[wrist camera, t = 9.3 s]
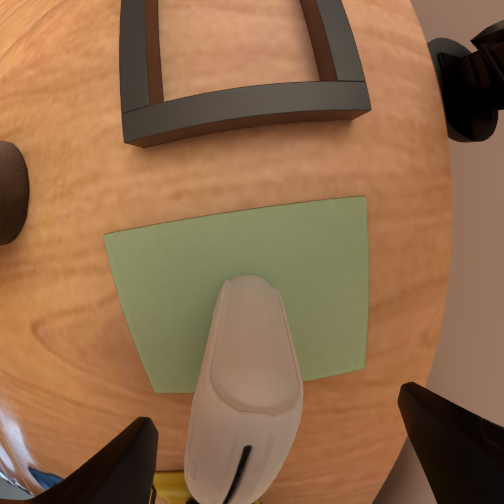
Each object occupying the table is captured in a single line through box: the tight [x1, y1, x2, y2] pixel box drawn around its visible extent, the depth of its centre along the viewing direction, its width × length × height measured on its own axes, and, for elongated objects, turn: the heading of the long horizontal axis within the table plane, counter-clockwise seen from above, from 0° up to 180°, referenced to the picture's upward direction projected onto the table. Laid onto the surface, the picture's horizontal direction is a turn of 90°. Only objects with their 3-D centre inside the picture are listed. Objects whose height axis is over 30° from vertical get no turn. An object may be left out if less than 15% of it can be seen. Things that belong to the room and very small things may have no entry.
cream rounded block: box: [184, 275, 304, 504], centre depth 14 cm, size 10×4×12 cm, turn 168°
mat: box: [103, 196, 369, 393], centre depth 19 cm, size 18×14×1 cm
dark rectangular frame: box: [119, 0, 372, 148], centre depth 13 cm, size 14×18×3 cm
